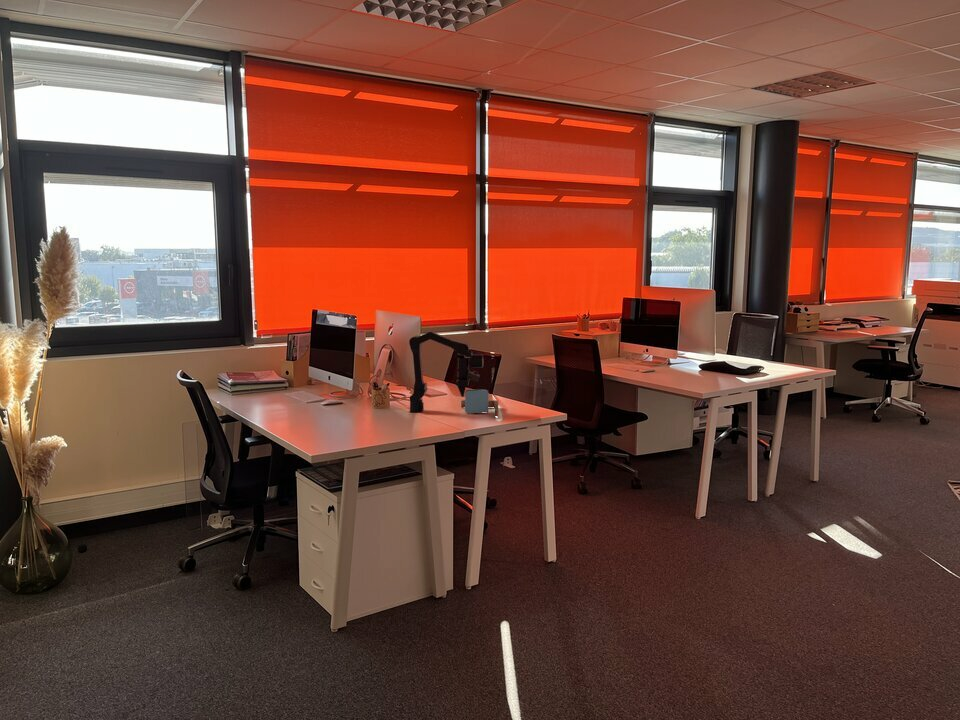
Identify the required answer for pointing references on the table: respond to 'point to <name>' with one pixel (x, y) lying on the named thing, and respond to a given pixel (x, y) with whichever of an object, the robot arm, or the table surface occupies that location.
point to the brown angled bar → (490, 404)
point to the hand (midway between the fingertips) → (462, 396)
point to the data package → (476, 401)
